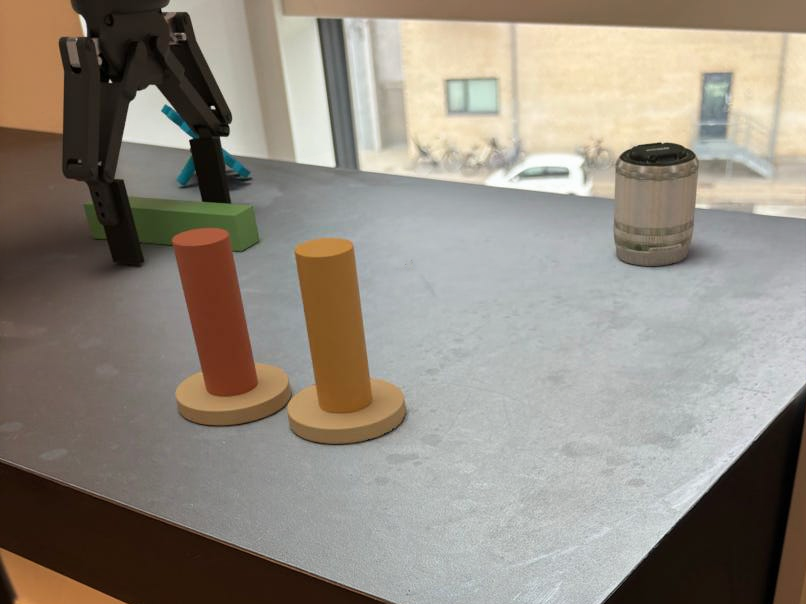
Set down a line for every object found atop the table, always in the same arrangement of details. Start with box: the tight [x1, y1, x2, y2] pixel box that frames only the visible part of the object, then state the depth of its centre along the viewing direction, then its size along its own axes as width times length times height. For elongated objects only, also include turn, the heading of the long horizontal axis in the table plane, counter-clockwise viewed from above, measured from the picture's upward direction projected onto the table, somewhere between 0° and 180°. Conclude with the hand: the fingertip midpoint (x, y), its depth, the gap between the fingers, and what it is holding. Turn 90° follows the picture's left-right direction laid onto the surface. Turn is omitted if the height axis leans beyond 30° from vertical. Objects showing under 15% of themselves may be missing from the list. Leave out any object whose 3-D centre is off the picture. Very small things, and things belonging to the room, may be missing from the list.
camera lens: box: [613, 141, 700, 267], centre depth 79 cm, size 6×6×8 cm
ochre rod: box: [286, 237, 407, 445], centre depth 58 cm, size 7×7×10 cm
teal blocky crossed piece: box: [160, 103, 251, 188], centre depth 104 cm, size 11×6×10 cm
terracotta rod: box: [172, 228, 292, 426], centre depth 60 cm, size 7×7×10 cm
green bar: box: [82, 196, 260, 253], centre depth 90 cm, size 16×3×3 cm, turn 68°
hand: (176, 237), depth 90 cm, fingers open, 13 cm apart
